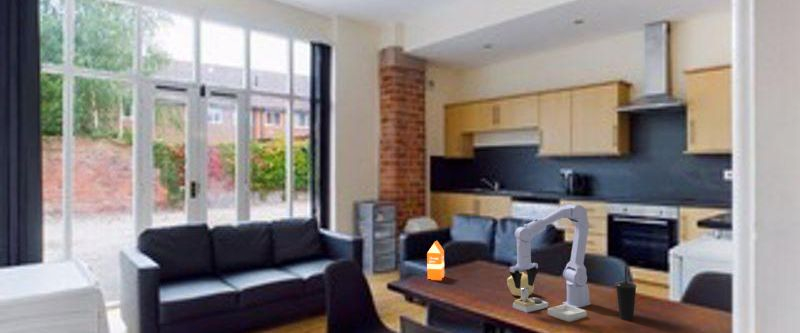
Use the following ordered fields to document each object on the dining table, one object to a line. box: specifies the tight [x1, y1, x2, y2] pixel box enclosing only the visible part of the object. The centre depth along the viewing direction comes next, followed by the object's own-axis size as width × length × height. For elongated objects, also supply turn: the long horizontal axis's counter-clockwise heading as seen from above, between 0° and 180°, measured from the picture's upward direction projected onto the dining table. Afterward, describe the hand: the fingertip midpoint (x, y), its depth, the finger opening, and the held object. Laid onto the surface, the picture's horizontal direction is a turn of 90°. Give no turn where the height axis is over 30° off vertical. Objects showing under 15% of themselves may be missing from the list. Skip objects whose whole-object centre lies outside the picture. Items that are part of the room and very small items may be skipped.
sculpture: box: [506, 271, 535, 297], centre depth 222 cm, size 12×12×11 cm
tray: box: [547, 303, 587, 323], centre depth 191 cm, size 11×11×3 cm
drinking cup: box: [614, 267, 637, 321], centre depth 187 cm, size 8×8×20 cm
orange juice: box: [426, 240, 445, 281], centre depth 257 cm, size 8×9×20 cm
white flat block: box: [512, 296, 549, 313], centre depth 203 cm, size 13×8×4 cm, turn 120°
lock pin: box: [520, 287, 529, 303], centre depth 201 cm, size 3×3×7 cm
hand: (524, 286), depth 201 cm, fingers open, 7 cm apart
